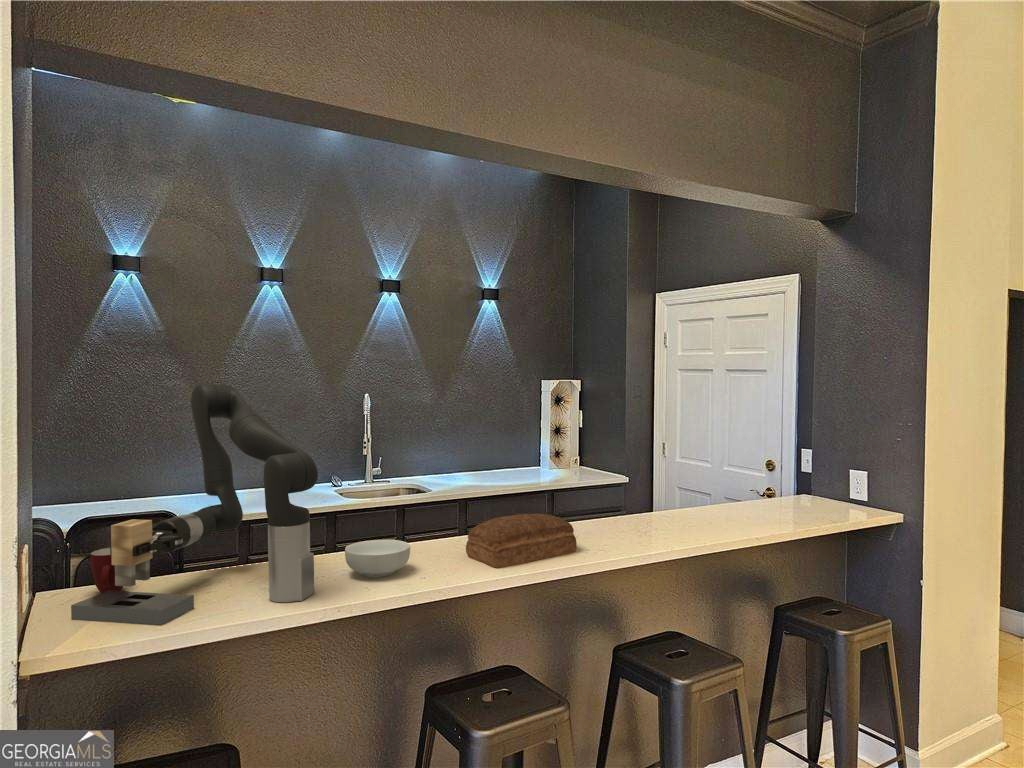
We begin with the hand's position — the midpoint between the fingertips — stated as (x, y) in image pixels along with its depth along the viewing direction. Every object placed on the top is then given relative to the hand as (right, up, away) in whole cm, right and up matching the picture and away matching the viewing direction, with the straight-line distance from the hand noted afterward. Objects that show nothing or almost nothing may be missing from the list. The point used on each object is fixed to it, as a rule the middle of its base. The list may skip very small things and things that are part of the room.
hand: (123, 551), depth 141 cm
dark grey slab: (+1, -14, +3) cm, 15 cm away
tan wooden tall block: (+1, -7, +3) cm, 8 cm away
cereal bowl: (+48, -14, +31) cm, 59 cm away
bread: (+86, -13, +47) cm, 99 cm away
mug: (-13, -15, +16) cm, 25 cm away
